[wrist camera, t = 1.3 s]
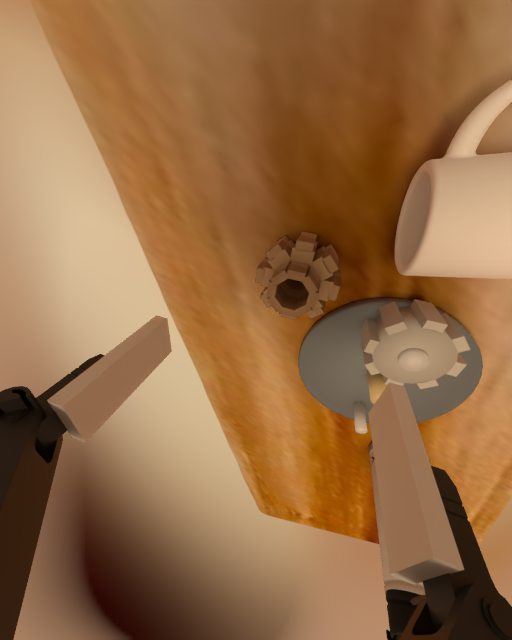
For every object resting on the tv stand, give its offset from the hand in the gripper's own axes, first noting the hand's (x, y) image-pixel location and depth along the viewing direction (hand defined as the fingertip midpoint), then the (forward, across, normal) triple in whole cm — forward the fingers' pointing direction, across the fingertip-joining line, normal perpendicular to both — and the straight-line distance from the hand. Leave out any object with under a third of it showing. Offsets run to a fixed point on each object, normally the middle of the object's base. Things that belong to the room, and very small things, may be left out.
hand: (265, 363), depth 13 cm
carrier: (+16, +12, -10) cm, 23 cm away
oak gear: (+16, 0, 0) cm, 16 cm away
